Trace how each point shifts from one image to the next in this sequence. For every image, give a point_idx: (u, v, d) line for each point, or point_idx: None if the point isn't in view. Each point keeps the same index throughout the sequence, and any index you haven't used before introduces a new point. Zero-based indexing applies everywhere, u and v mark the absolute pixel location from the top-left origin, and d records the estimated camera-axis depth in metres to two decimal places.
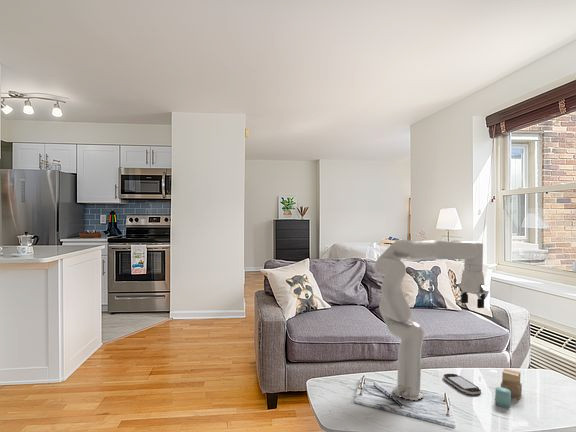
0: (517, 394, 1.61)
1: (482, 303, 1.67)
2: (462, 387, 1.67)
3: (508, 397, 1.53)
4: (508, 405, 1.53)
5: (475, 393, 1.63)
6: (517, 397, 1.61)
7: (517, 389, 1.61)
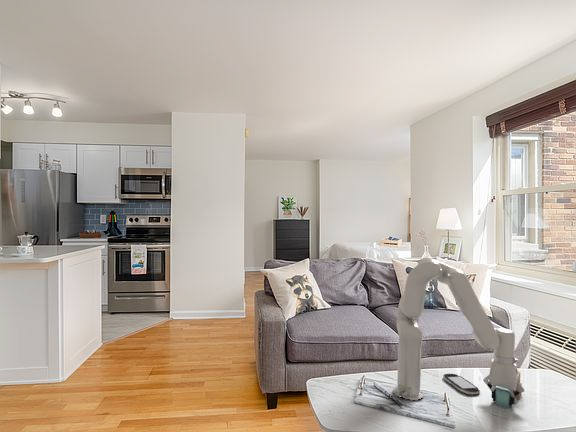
0: None
1: None
2: (461, 387, 1.67)
3: (508, 397, 1.53)
4: (508, 405, 1.53)
5: (473, 393, 1.63)
6: (517, 397, 1.61)
7: (517, 389, 1.61)
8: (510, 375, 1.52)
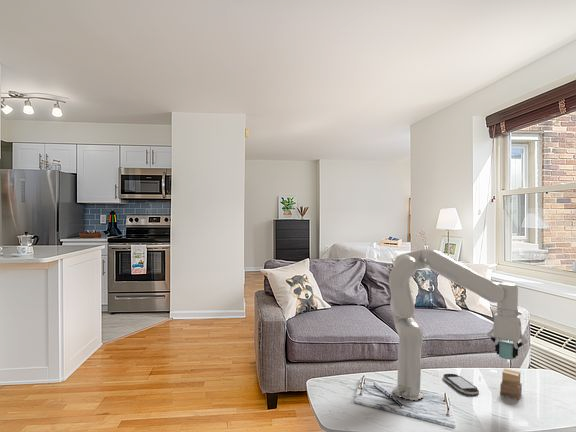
0: (517, 394, 1.61)
1: None
2: (460, 387, 1.67)
3: (511, 349, 1.56)
4: (512, 357, 1.56)
5: (472, 393, 1.63)
6: (517, 397, 1.61)
7: (517, 389, 1.61)
8: (513, 327, 1.55)
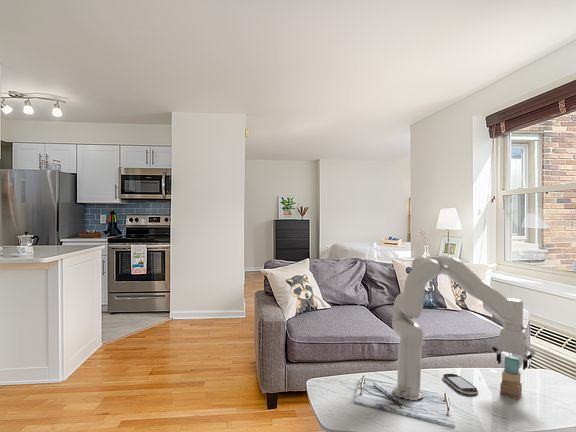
0: (517, 394, 1.61)
1: None
2: (459, 387, 1.67)
3: (517, 364, 1.62)
4: (516, 372, 1.63)
5: (471, 393, 1.63)
6: (517, 397, 1.61)
7: (517, 389, 1.61)
8: (519, 341, 1.62)
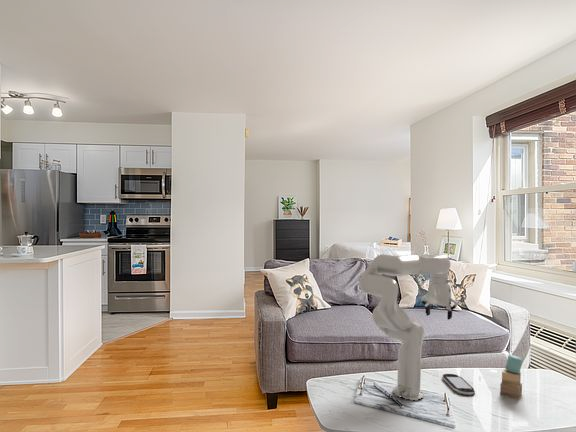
0: (517, 394, 1.61)
1: None
2: (455, 386, 1.68)
3: (509, 360, 1.65)
4: (507, 367, 1.65)
5: (467, 393, 1.63)
6: (517, 397, 1.60)
7: (517, 389, 1.61)
8: (443, 293, 1.73)
